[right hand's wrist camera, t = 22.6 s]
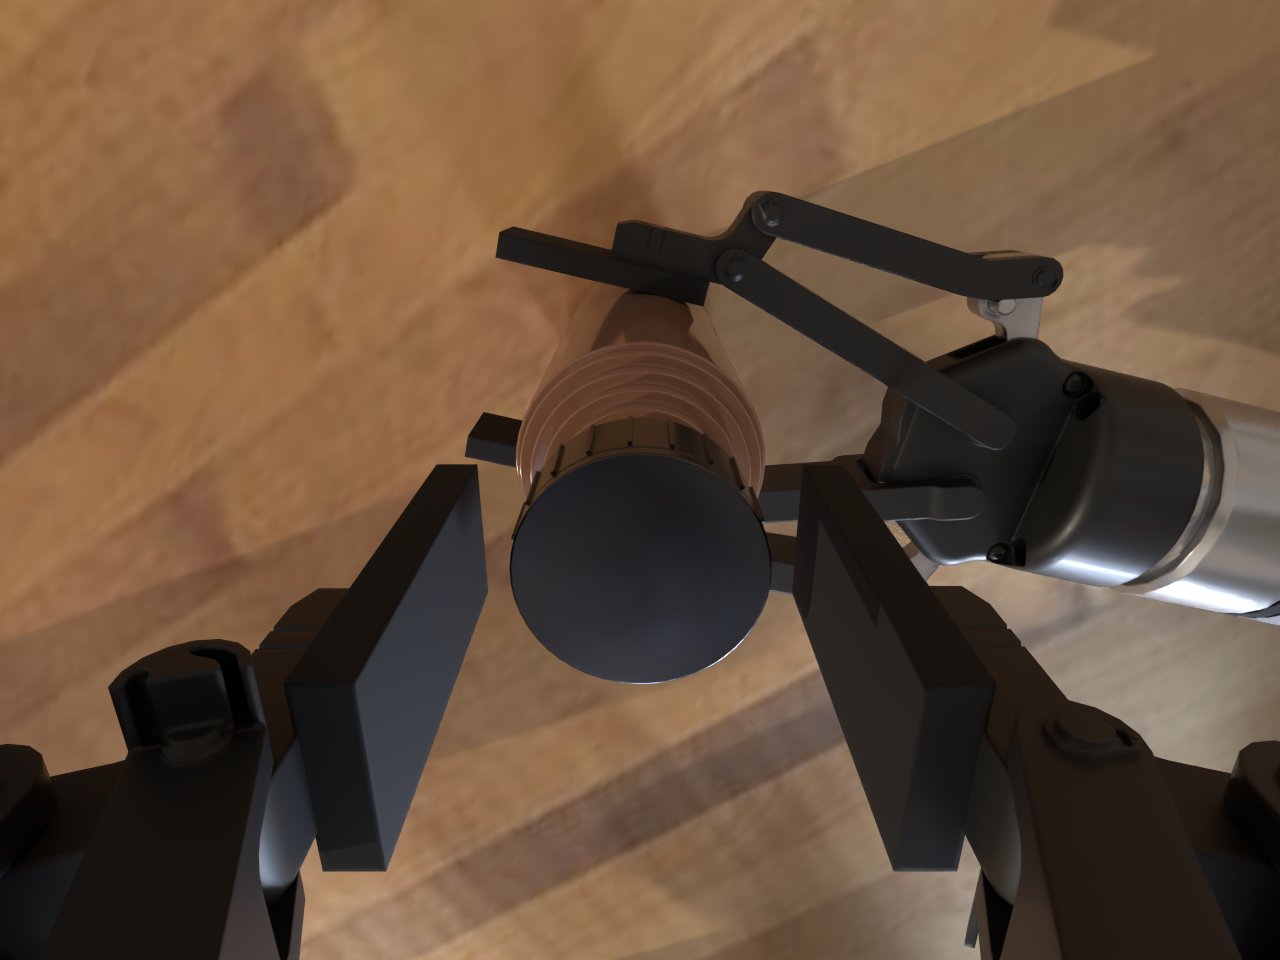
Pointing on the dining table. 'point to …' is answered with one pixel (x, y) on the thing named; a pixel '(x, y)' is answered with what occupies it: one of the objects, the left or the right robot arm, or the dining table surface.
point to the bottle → (639, 379)
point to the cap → (640, 552)
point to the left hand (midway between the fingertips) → (490, 342)
